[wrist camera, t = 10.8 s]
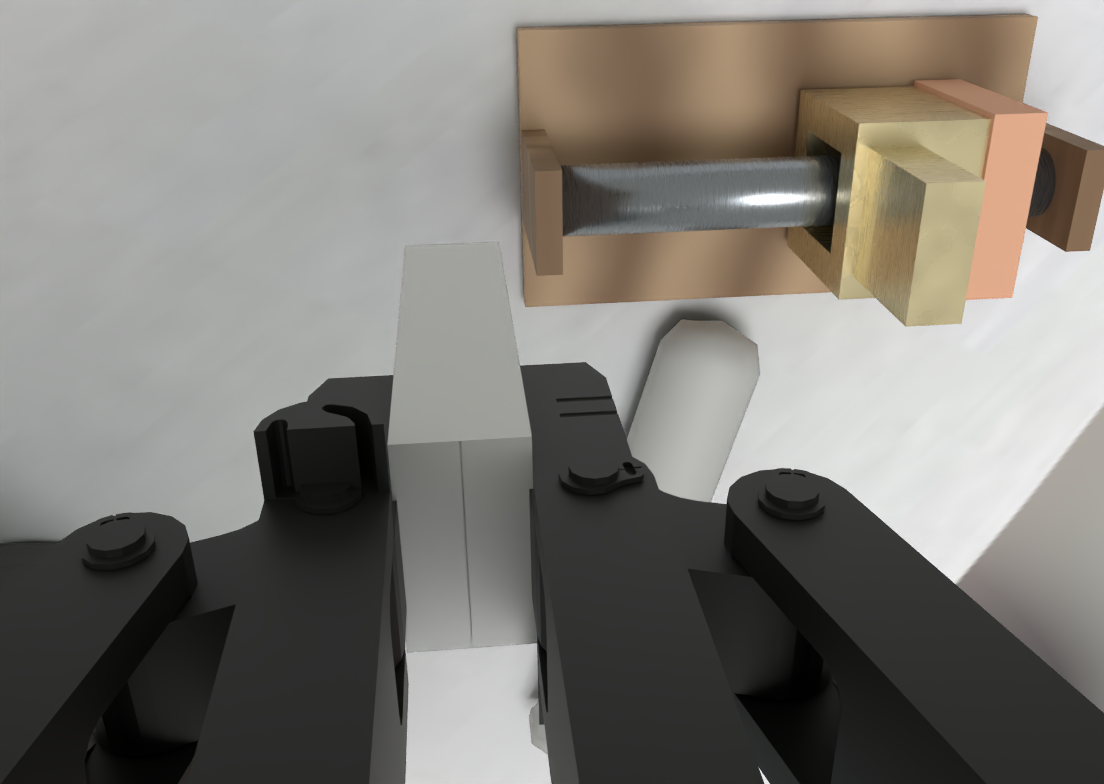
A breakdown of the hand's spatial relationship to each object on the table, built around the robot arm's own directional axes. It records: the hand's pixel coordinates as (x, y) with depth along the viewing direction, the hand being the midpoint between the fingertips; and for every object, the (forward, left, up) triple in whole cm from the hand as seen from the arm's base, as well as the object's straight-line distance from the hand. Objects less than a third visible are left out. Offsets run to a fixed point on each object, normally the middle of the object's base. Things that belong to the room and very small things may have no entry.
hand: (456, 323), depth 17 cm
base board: (+14, -5, -29) cm, 33 cm away
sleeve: (+17, -5, -28) cm, 33 cm away
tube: (+8, -24, -30) cm, 39 cm away
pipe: (+14, -5, -26) cm, 30 cm away
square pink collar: (+21, -5, -28) cm, 35 cm away
